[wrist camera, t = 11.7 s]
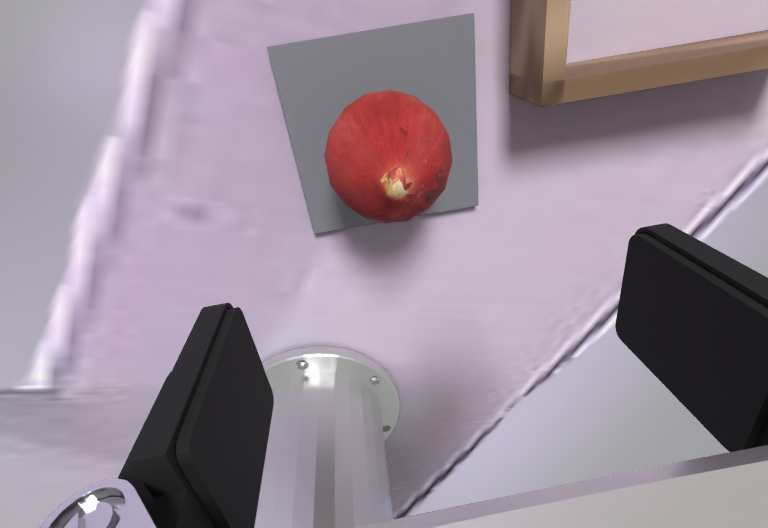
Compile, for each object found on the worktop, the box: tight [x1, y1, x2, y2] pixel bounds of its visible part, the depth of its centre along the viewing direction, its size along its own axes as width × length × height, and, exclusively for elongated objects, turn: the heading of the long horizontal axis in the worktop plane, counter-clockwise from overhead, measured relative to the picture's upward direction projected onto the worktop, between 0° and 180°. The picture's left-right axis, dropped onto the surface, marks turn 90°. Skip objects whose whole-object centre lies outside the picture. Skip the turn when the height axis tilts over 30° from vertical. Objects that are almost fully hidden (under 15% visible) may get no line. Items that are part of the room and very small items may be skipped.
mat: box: [267, 13, 478, 234], centre depth 23 cm, size 10×10×1 cm
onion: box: [324, 90, 453, 223], centre depth 19 cm, size 6×6×8 cm
